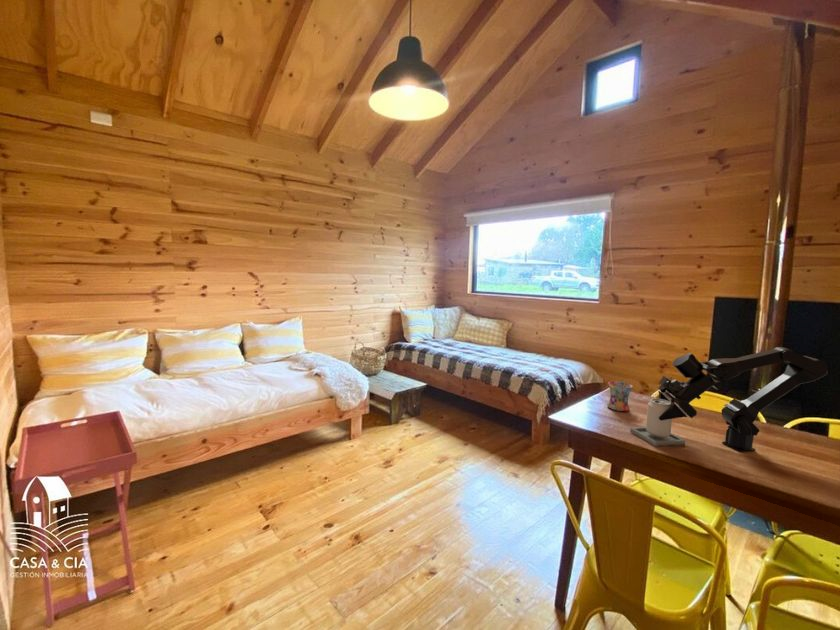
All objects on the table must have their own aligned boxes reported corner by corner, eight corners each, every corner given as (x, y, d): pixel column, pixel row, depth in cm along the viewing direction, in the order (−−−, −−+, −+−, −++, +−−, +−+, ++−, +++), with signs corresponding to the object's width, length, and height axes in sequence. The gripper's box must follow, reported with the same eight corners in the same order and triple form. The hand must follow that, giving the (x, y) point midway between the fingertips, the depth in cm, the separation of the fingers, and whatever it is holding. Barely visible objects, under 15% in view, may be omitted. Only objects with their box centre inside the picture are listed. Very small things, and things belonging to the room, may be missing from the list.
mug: (625, 414, 157) (628, 389, 156) (602, 408, 164) (604, 383, 162) (635, 407, 165) (638, 383, 164) (613, 401, 172) (615, 378, 171)
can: (651, 427, 141) (654, 395, 139) (674, 435, 135) (677, 402, 133) (641, 432, 136) (644, 399, 135) (664, 440, 130) (668, 406, 129)
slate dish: (684, 444, 131) (685, 440, 131) (655, 446, 129) (655, 442, 129) (657, 430, 143) (658, 426, 142) (630, 431, 140) (630, 427, 140)
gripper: (666, 363, 141) (630, 389, 145) (689, 377, 123) (648, 407, 127) (688, 385, 140) (652, 411, 144) (715, 403, 122) (672, 432, 126)
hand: (655, 415), depth 135 cm, fingers closed on can, 7 cm apart
